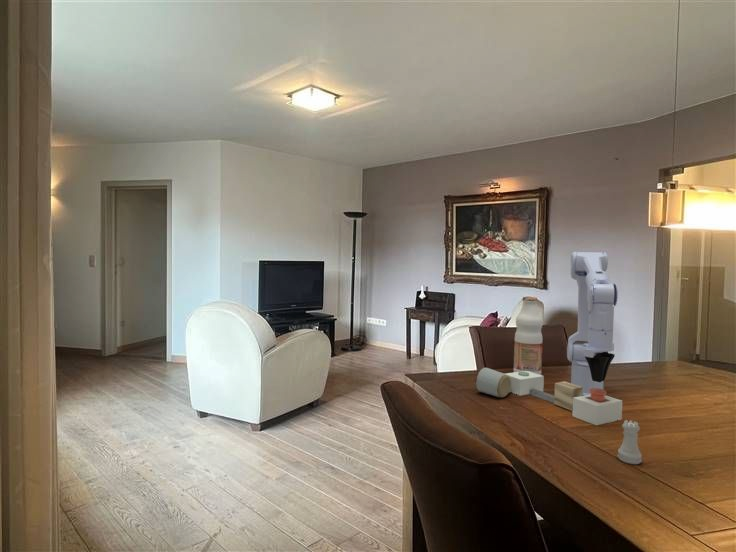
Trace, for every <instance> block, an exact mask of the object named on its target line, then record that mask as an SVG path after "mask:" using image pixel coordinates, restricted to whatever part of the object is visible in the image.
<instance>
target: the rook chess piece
mask: <svg viewBox="0 0 736 552" xmlns="http://www.w3.org/2000/svg"><path fill="white" fill-rule="evenodd" d="M621 427H622V428H623V431H622V434H623V440H622V444H621V445H620V447H619V448H618V450H617V452H618V454H617V456H616V457H617V458H618V459H619V460H620V461H621V462H623V463H625V464H627V465H639V464H641V463H642V462H643V459H642V452H640V449H639V445H638V437H639V433H638V432H639V431H640V430H641V428H640V426H639V422H637V421H633V420H629V421H628V420H627V419H625V420H624V421H623V423H622V424H621Z"/></svg>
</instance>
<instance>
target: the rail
mask: <svg viewBox="0 0 736 552" xmlns="http://www.w3.org/2000/svg"><path fill="white" fill-rule="evenodd" d="M529 395H530V396H534V397H536V398H539V399H541V400H544V401H546V402H549V403H552V404H554V395H553V394H551V393H548V392H545V391H544V390H543V391H540V390H537V389H531V390H530V394H529Z"/></svg>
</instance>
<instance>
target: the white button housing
mask: <svg viewBox="0 0 736 552" xmlns="http://www.w3.org/2000/svg"><path fill="white" fill-rule="evenodd" d="M571 415H572V417H573V418H576V419H578V420H581V421H584V422H586V423H589V424H592V425H595V426H601V425H605V424H608V423H613V422H617V420H618V421H621V420H622V419H623V400H621V399H618V398H616V397H615V398H614V397H612V396H609V395H607V394H606V395H605V401H604V402H601V403H599V402H596V401H593V400H591V394H590V395H585V396H579V397H574V398H573V411H572V414H571Z"/></svg>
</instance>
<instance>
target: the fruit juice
mask: <svg viewBox="0 0 736 552" xmlns="http://www.w3.org/2000/svg"><path fill="white" fill-rule="evenodd" d="M537 303H538V297H536V296H523V297H522V307H521V310H520V311H519V313H518V314H517V316H516V318H515V325H516V326H515V327H516V330H515V333H514V348H513V349H514V351H513V354H514V355H513V372H521V371H529V372H533V373H536V374H539V375H542V363H543V361H542V360H543V334H542V328H543V326H544V325H543V324H544V323H543V321H544V320H543V318H542V317H541V315H540V313H539V310H538V306H537Z"/></svg>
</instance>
